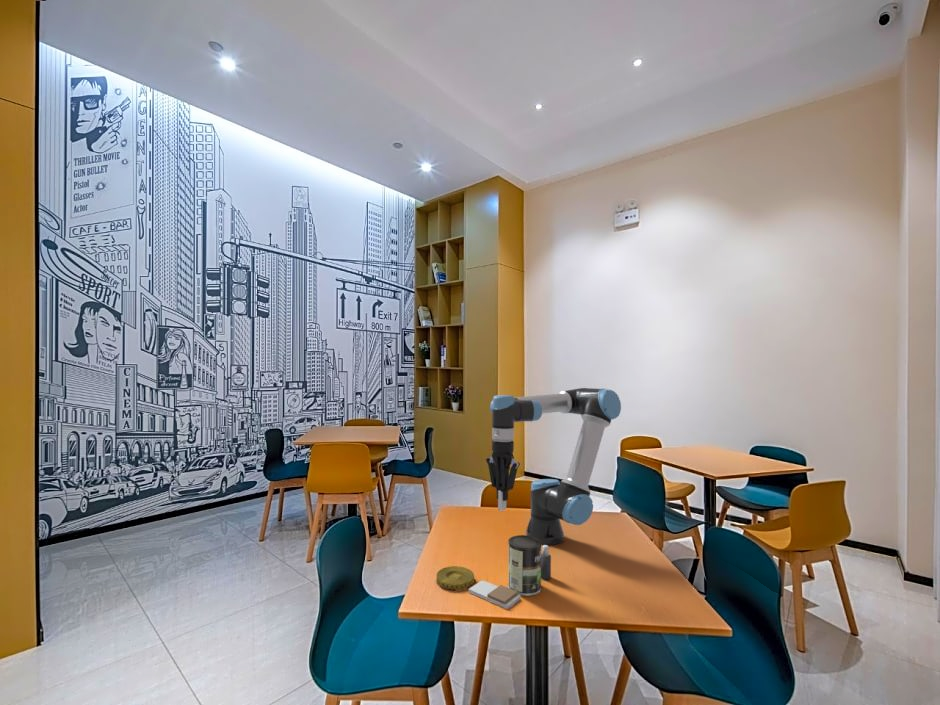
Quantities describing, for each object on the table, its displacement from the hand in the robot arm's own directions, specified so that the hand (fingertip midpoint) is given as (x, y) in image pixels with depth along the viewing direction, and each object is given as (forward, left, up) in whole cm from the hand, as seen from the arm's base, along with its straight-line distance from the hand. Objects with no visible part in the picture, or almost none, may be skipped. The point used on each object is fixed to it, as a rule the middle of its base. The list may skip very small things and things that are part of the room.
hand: (502, 509), depth 141 cm
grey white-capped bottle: (-4, +14, -20) cm, 25 cm away
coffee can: (+5, +12, -20) cm, 24 cm away
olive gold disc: (+16, -7, -21) cm, 27 cm away
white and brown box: (+16, +8, -20) cm, 26 cm away
